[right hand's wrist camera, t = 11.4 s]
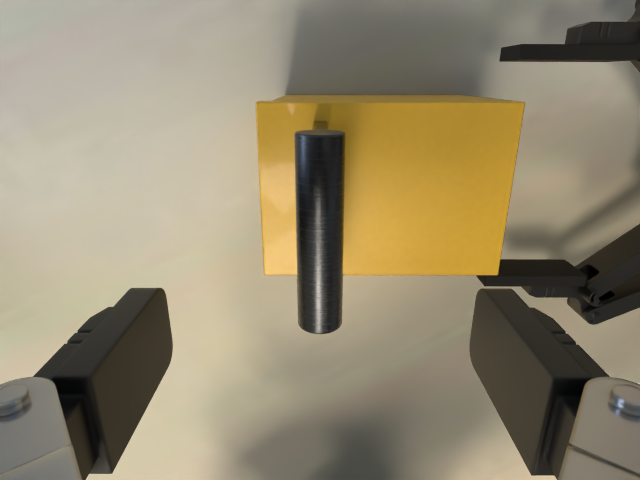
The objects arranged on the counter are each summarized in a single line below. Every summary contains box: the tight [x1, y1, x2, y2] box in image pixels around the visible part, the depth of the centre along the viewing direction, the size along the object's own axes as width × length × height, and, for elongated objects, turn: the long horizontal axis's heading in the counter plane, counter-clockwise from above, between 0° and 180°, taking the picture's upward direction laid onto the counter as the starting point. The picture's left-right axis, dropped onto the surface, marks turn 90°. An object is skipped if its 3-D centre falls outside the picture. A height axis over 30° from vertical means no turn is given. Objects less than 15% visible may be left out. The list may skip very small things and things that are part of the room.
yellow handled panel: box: [256, 101, 525, 334], centre depth 20 cm, size 14×10×9 cm
